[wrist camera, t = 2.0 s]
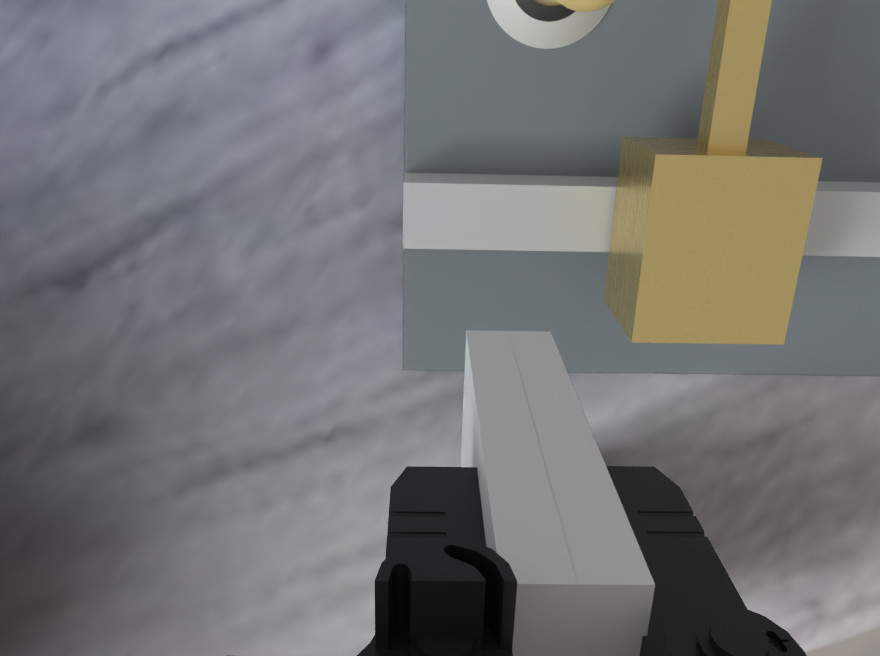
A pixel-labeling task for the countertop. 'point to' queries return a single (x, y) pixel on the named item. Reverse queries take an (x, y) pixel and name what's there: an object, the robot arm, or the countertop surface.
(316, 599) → the countertop surface
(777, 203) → the pointer
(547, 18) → the gauge board
